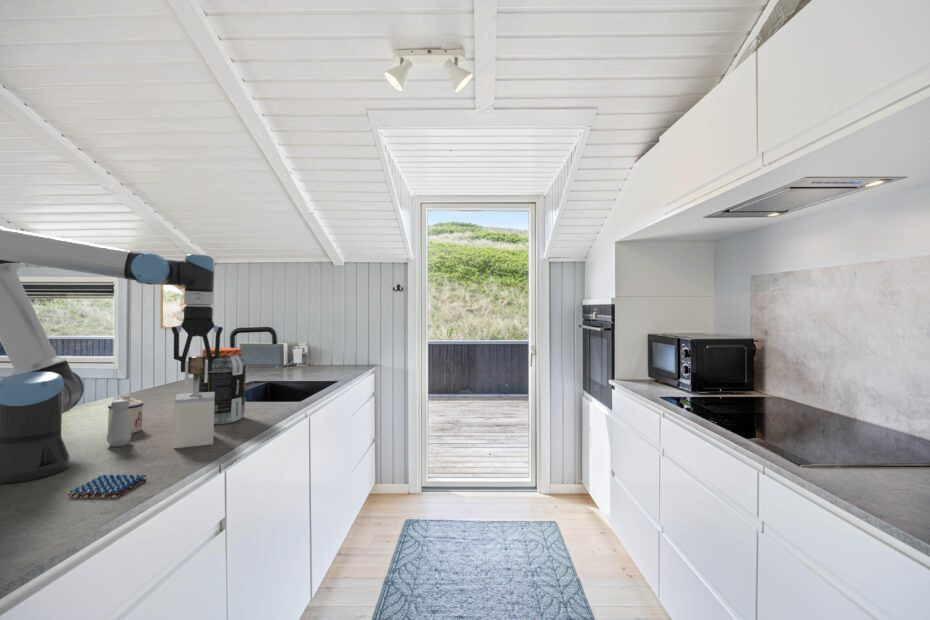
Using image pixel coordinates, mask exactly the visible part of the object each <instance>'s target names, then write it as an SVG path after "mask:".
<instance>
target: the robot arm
mask: <svg viewBox="0 0 930 620" xmlns="http://www.w3.org/2000/svg"><path fill="white" fill-rule="evenodd" d="M21 264H24V265H31V266H32V265H33V266H38V267H39V266H40V267H44V268H45V267H46V268H51V269H57V270H59V269H60V270H64V271H65V270H66V271H71V272H78V273H83V274H90V275H96V276H97V275H99V276H104V277H111V278H116V279H118V278H119V279H125V280H129V281H135V282H136V283H138V284H143V285H149V286H150V285H151V286H152V285H156V286H157V285H160V286H161V285H162V286H181V287H182V286H184V290H183V291H184V294H183V304H184V305H185V306H184V307H183V321H182V322H181V324H178V325H176V326H175V325H173V326H172V327H171V331H172V334H173V359H174V361H179V363H180V372H181V373H184V385H186V384H189V374H188V360H187V358H188V353H189V350H190V346H191V343H192V340H193V337H200V338H201V337H202V340H203V344H204V349H206V354H207V358H208V360H205V380H204V383H207V379H208V371H212V361H213V360H215V359H218V358H219V349H220V348H221V347H220V346H221V345H220V343H221V334H222V332H223V326H218V325H215V322H214V321H213V316H214V315H213V314H214V313H213V312H214V311H213V307H212V305H214V283H215V282H214V281H215V280H214V279H215V265H214V264H215V262H214V258H213V257H212V256H210V255H205V254H194V253H193V254H192V253H191V254H186V255H185V257H184V260H183V259H182V260H176V259H165V258H163V257H162V256H160V255H159V254H155V253H150V252H148V253H147V252H146V253H144V252H139V251H132V250H128V249H121V248H117V247H111V246H106V245H99V244H94V243H89V242H84V241H83V242H82V241H77V240H72V239H67V238H61V237H56V236H49V235H44V234H39V233H33V232H26V231H23V230H16V229H11V228H10V229H9V228H5V227H3V226H2V225H1V224H0V343H1V345H2V348H3V349H4V352H5V353H6V356H7V358H8V360H9V362H10V364H11V366H12V367H13V370H12V372H11V374H10V375H8V376H6V377H3V378H1V379H0V485H1V484H2V485H3V484H12V483H13V484H15V483H21V482H27V481H31V480H32V481H33V480H38V479H42V478H45V477H46V478H47V477H49V476H52V475H55V474H58V473H61V472H63V471H65V470H67V469H68V468H69V467H70V466H71V465H70V463H71V462H70V459H71V458H70V454H69V452H68V450H67V446H66V445H65V442H64V440H63V438H62V425H63V424H62V422H63V419H62V418H63V417H62V415H63V414H65V413H66V412H68V411H70V410H72V409H73V408H74V407H75V406H76V405H77V404H78V403H79V402H80V401H81V399H82V398H83V396H84V394H85V393H84V392H85V383H84V381H83V379H82V377H81V376H80V375H79V374H78V373H76V372H75V371H72V368H71V366H70V364H69V363H68V360H67V359H66V358H63V357H60V356H58V355H57V354H56V352H55V349H54V347H53V346H52V344H51V342H50V339H49V338H48V336H47V333H46V331H45V329H44V328H43V327H44V326H43V325H42V323H41V321H40V319H39V316H38V314H37V313H36V310H35V308H34V306H33V305H32V302H31V300H30V298H29V296H28V294H27V292H26V290H25V287H24V286H23V284H22V282H21V280H20V277H19V275H18V274H17V272H18V270H19V269H20V268H21V266H22V265H21ZM182 329H183V330H184V332H185V333H187V337H186V340H185V344H184V348H183V351H182V354H181V355H180V333H181V332H182ZM212 329H213V332H214V333H215V343H214V348H215V355H213V356H212V354H211V350H210V348H211V347H210V346H211V345H210V341H209V337H208V334H209V333H210V332H211V330H212Z"/></svg>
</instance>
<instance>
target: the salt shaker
mask: <svg viewBox="0 0 930 620" xmlns="http://www.w3.org/2000/svg"><path fill="white" fill-rule="evenodd" d="M111 403H112V404H111V409H114V410H113V414H112V418H111V422H110V426H109V430H108V429H107V435H106V442H107V444H108V445H109V447H113V448H114V447H115V448H116V447H117V448H119V447H124V446H127V445H129V442H130V440H131V439H132V434H133V433H131V429H130V424H129V418H128V413H127V408H129V404H130V403H129V401H128V400H119V399H118V400H113V401H112V402H111ZM126 444H127V445H126Z"/></svg>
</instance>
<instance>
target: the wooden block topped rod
mask: <svg viewBox="0 0 930 620" xmlns="http://www.w3.org/2000/svg"><path fill="white" fill-rule="evenodd" d="M187 358H188V359H187V361H188V375H193V376H192V380H193V381H192V393H193V397H197V396H199V375H200V374H203V373H205V356H202V355H190V356H187Z"/></svg>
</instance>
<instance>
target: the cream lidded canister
mask: <svg viewBox="0 0 930 620" xmlns="http://www.w3.org/2000/svg"><path fill="white" fill-rule="evenodd" d="M118 400H128V401H129V403H130V404H129V408H127V413H128V418H129V424H130V429H131V434H134V433H137V432H140V431H141V430H142V429H143V428H142V427H143V406H144V402H143V401H142V400H139V399H136V398H134V397H131V395H130V394H126V395H125V394H123V395H122V397H121V398H119V399H118ZM111 404H112V402H110V403H109V404H108V406H107V408H108V417H107V418H108V422H107V423H108V424H107V431H108V430H109V426H110V422H111V418H112V414H113V410H114V409H111Z"/></svg>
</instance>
